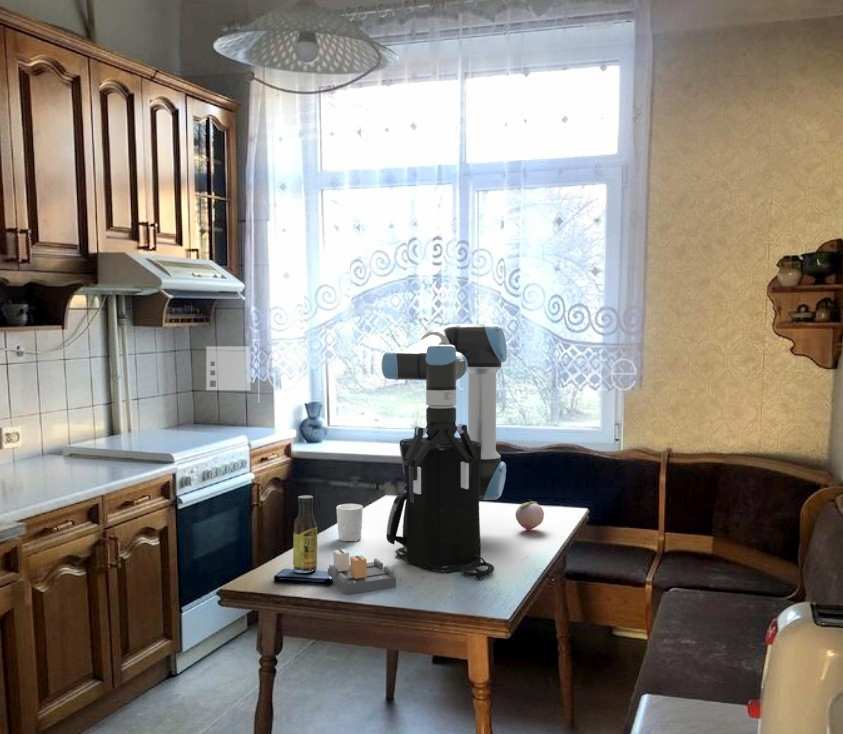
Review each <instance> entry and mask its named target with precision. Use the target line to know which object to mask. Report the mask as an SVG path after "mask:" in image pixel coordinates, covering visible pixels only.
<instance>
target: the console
mask: <svg viewBox="0 0 843 734" xmlns="http://www.w3.org/2000/svg"><path fill="white" fill-rule="evenodd" d="M394 574H395V572H394V570H393V569H391V567H389V566H388V565H384V563H383V562H382V561H381V560H380V559H378V558H373V561H371V562H367V577H364V578H357V579H355V578H354V577H353V576H351V575H350V564H349V570H347V571H341V572H338V569H337V568H335V567H334V564H329V566H328V568H327V576H328V575H329V576H331V577H332V580H333V582H332V583H333V584H334V585H335V586H336V585H337V586H336V588H338V587H339V588H340V589H341V590H342V591H343V594H345V596H349V595H354V594H361V593H367V592H373V591H378V589H380V590H384V589H385V588H387V589H391V588H392V587H393V588H397V577H396V576H395V575H394ZM339 588H338V589H339ZM340 589H339V590H340ZM341 590H340V591H341ZM385 590H386V589H385ZM342 591H341V592H342Z"/></svg>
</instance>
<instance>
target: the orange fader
mask: <svg viewBox="0 0 843 734" xmlns="http://www.w3.org/2000/svg"><path fill="white" fill-rule="evenodd" d="M367 563H368V559H367V558H366V557H365V556H363V555H362V554H361V555H354V556H349V565H350V575H351V576H353V577H354V578H355V579H357V578H364V577H367Z"/></svg>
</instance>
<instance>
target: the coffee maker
mask: <svg viewBox="0 0 843 734" xmlns="http://www.w3.org/2000/svg"><path fill="white" fill-rule="evenodd" d="M455 437H456V438H457V440H458V442H459V443H460V445H461V446H462V447H463V448H464V450H465V451H466V452H467V450H466V448H465V446H464V444H463V441H462V439H461V437H457V436H455ZM426 438H427V436H425V437H424V436H423V438H422V441H421V443H420V445H419V448H418V450H417V452H418V451H419V449H420V448H421V446H422V445H423V444H424V441H425V439H426ZM412 439H413V437H412V438H402V439H401V440H400V441H399V451H400V452H399V453H400V459H401V464H402V469H403V474H404V475H405V479H406V480H405V481H406V482H405V483H406V485H405V486H404V487H403V490H405V491H406V492H403V493H401V494H398V495H397V496H395V499H394V500H393V502H392V503H393V504H392V505H391V508H390V511H389V515H388V520H387V525H386V534H385V535H386V537H385V538H386V540H387V542H388V543H390V544H392V545H395V542H397V543H399V544H401V545H402V547H399V548H397V549H396V550H394V553H395V554H396V555H397V556H398V557H401V558H403V559H404V560H406V563H408V564H409V565H414V566H419V567H421V568H425V569H426V570H427V569H428V570H432V571H436V572H444V573H451V572H457V571H461V573H462V574H463V576H468V577H474V578H475V580H478V581H480V580H481V579H483V578H484V577H487V576H489V575H490V574H491V573H493V572H494V571H495V565H493V564H492V563H489V562H487V561H486V560H485V559H484V558H483V556H482V553H481V551H482V550H481V549H482V548H481V547H482V545H481V527H480V525H481V524H480V499H479V493H480V469H481V443H480V442H477V441H472V440H471V442H472V444H473V446H474V448H475V450H476V453H477V455H478V459H477V460H474V462H473V463H471V475H469V489H464V488H462V487H461V462H464V460H463V459H462V458H461V456H460V455H459V454H458V453H457V451H456V450H455V449H454V448H453V446H452V445H451V444H450V443H448V444H445V443H442V444H435V445H434V446H432V447H431V449H430V450H429V451H428V453H427V454H426V456H425V457H424V459H423V460H422V461H421V463H420V464H419V466H418V467H420V468H421V494H416V493H414V492H413V480H411V478H410V466H408V465H405V464H403V460H404V458H405V456H406V453H407V451H408V449H409V446H410V444H411V442H412ZM417 452H416V453H417ZM467 453H468V452H467ZM403 510H404V511H403ZM402 514H403V519H402V536H398V535H397V534H398V530H399V527H400V522H401V518H402ZM478 567H487V568H486V569H485V570H482V569H479V568H478ZM472 569H475V571H470V570H472Z"/></svg>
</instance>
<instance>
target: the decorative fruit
mask: <svg viewBox="0 0 843 734" xmlns="http://www.w3.org/2000/svg"><path fill="white" fill-rule="evenodd" d="M544 517H545V512H544V509H543V508H542V505H540V504H539V503H538V502H537V501H535V500H534V501H532V500H531V499H530V498H529V499H528V502H524V503H521V504H520V505H519V506H518V507H517V509H516V511H515V519H516V521H517V523H518V524H519V526H520V527H522V528H523V529H524V530H526V531H529V532H530V531H532V530H533V529H535V528H537V527H538V526H540V525H541V524H542V523H543V521H544Z"/></svg>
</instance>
